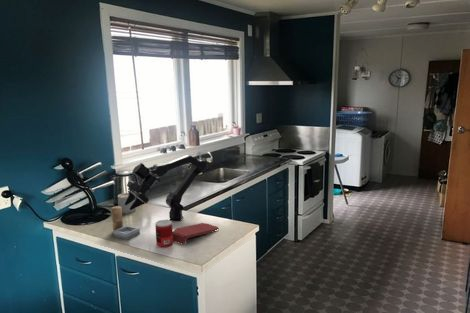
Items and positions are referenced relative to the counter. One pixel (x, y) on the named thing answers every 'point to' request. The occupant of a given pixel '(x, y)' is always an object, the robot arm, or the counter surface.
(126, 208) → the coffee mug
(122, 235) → the socket base
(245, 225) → the counter surface
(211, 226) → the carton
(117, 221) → the tan round-ended cylinder
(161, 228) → the canned food
